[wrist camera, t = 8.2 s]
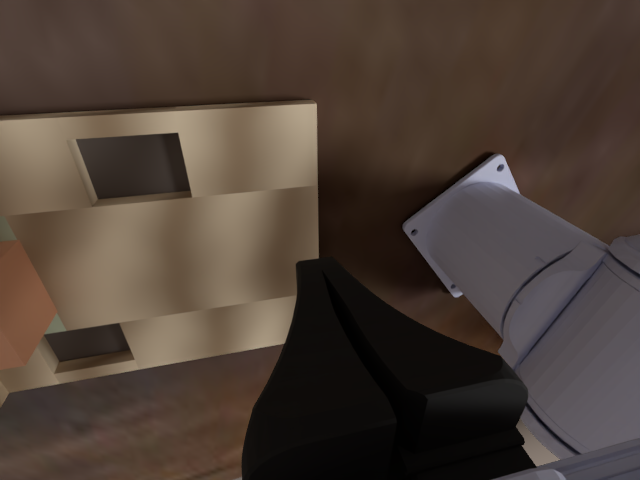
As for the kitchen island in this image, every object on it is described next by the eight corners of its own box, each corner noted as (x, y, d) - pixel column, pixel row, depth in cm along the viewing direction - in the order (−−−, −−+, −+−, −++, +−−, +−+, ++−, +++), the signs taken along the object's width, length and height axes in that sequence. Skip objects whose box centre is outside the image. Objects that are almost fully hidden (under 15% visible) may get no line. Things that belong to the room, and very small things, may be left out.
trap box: (311, 99, 19) (325, 111, 16) (316, 325, 28) (326, 357, 25) (-198, 125, 15) (-289, 147, 12) (-2, 381, 24) (-31, 425, 21)
